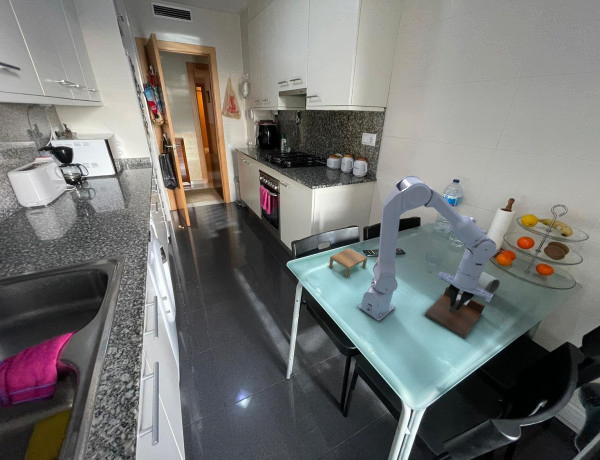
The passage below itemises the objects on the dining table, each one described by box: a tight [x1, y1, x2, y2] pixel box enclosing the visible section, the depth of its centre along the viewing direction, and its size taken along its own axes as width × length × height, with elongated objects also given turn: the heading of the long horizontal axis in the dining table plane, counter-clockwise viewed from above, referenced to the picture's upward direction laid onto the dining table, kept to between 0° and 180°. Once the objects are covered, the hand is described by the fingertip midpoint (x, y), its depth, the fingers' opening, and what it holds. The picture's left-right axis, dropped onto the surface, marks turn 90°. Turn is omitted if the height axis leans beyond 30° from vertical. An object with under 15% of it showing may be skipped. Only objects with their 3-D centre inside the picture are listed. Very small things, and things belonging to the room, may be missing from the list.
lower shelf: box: [424, 286, 486, 340], centre depth 82 cm, size 16×12×4 cm
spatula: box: [449, 294, 470, 313], centre depth 81 cm, size 11×4×1 cm, turn 131°
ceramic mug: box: [477, 270, 501, 295], centre depth 93 cm, size 11×8×8 cm
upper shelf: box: [328, 247, 368, 279], centre depth 105 cm, size 12×10×5 cm
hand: (455, 306), depth 79 cm, fingers closed on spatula, 1 cm apart
